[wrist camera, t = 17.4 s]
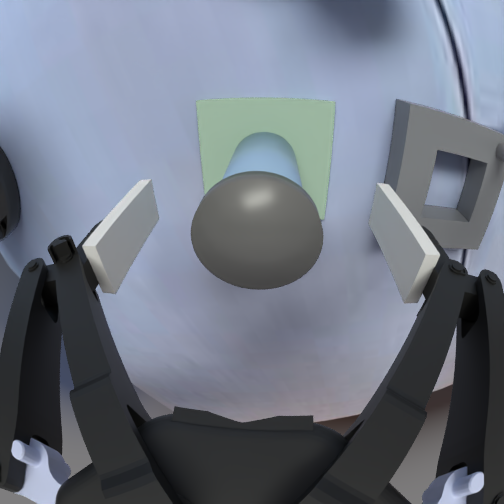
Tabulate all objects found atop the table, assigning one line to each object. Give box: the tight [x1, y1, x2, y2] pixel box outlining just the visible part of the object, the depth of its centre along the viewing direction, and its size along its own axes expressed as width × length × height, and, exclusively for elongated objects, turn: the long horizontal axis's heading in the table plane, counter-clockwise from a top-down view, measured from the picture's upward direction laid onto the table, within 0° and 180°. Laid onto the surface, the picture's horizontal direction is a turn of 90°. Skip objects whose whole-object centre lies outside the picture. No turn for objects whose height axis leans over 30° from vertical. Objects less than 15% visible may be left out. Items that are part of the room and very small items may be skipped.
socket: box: [384, 99, 504, 250], centre depth 15 cm, size 12×12×12 cm
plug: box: [191, 132, 323, 289], centre depth 16 cm, size 6×6×10 cm
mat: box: [196, 98, 335, 220], centre depth 20 cm, size 10×10×1 cm
